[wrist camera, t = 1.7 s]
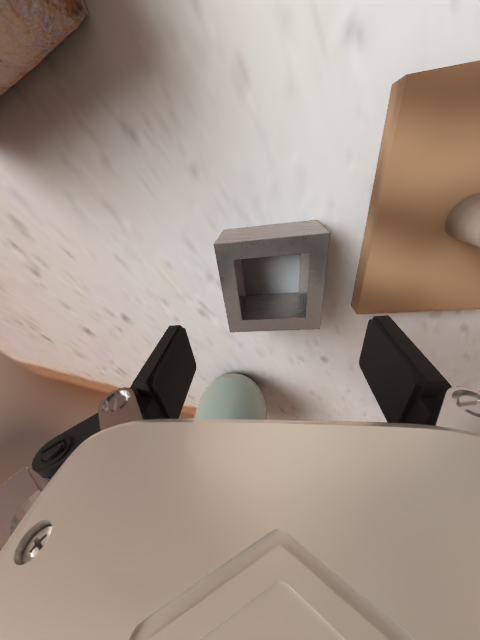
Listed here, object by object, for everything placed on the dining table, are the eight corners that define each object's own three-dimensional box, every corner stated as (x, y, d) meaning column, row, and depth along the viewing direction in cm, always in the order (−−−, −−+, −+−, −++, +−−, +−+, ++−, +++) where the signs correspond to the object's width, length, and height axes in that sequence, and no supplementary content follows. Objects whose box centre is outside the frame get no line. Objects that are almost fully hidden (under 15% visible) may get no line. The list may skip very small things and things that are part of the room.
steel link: (223, 230, 17) (213, 244, 14) (316, 219, 16) (329, 232, 13) (235, 306, 21) (229, 332, 18) (311, 302, 20) (320, 328, 17)
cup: (227, 409, 31) (213, 497, 22) (193, 375, 27) (161, 464, 19) (277, 395, 28) (282, 489, 20) (246, 355, 24) (236, 448, 16)
